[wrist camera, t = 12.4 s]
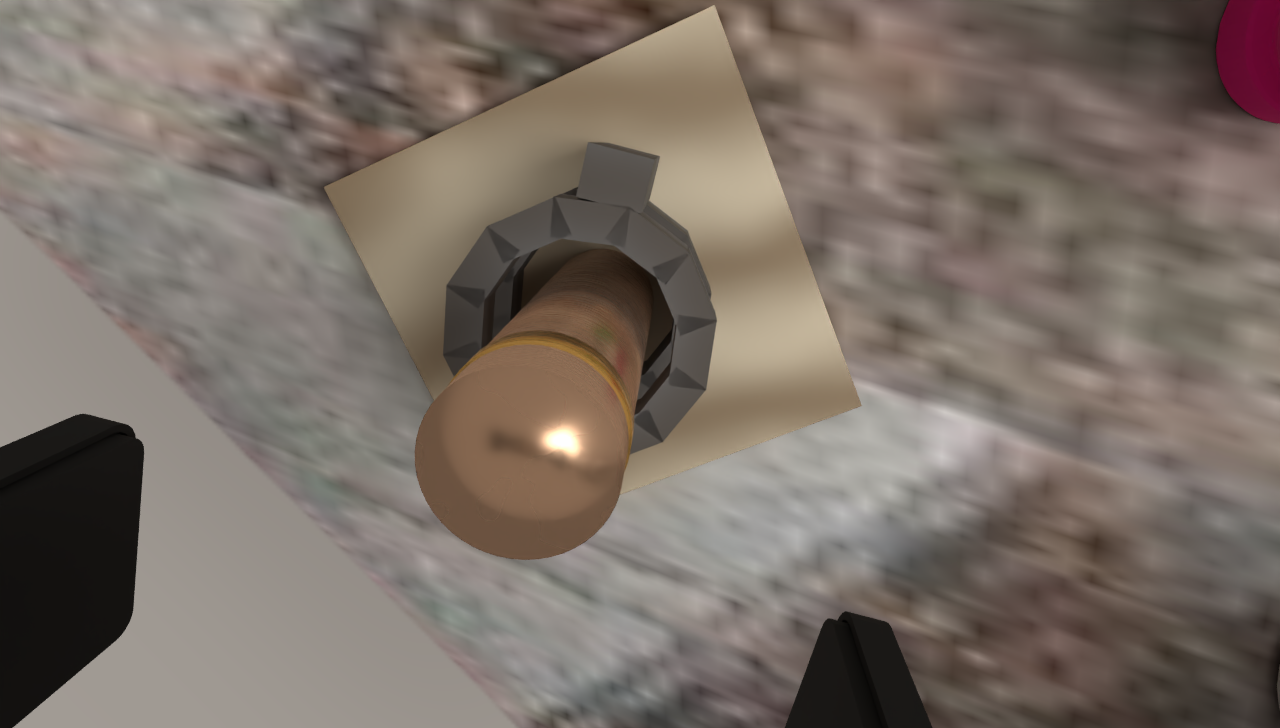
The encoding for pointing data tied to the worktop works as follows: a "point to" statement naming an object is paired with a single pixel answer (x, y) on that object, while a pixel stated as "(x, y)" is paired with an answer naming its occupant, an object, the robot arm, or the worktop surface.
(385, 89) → the worktop surface
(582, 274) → the tan cylinder
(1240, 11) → the pepper mill
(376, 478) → the worktop surface
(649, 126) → the collar stand
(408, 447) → the worktop surface
